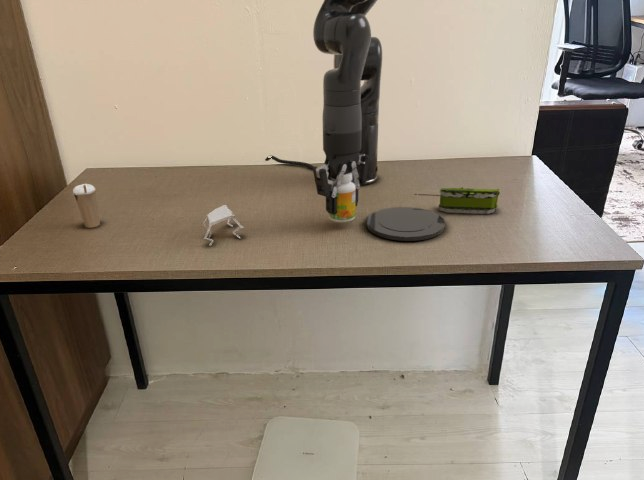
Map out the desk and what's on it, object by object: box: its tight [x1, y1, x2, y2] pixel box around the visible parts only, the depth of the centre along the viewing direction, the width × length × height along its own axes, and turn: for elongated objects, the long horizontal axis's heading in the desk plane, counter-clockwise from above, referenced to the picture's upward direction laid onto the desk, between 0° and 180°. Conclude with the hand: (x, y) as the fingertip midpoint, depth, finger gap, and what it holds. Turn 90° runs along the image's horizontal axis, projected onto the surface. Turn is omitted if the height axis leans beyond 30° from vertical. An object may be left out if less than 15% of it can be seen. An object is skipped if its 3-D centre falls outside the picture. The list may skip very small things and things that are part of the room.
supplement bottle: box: [329, 173, 356, 223], centre depth 117 cm, size 5×5×10 cm
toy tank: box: [414, 187, 501, 215], centre depth 125 cm, size 7×19×10 cm
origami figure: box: [202, 204, 245, 246], centre depth 117 cm, size 12×8×5 cm
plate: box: [366, 206, 446, 242], centre depth 118 cm, size 16×16×1 cm
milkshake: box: [72, 183, 101, 229], centre depth 123 cm, size 5×5×10 cm
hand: (342, 209), depth 118 cm, fingers closed on supplement bottle, 5 cm apart
